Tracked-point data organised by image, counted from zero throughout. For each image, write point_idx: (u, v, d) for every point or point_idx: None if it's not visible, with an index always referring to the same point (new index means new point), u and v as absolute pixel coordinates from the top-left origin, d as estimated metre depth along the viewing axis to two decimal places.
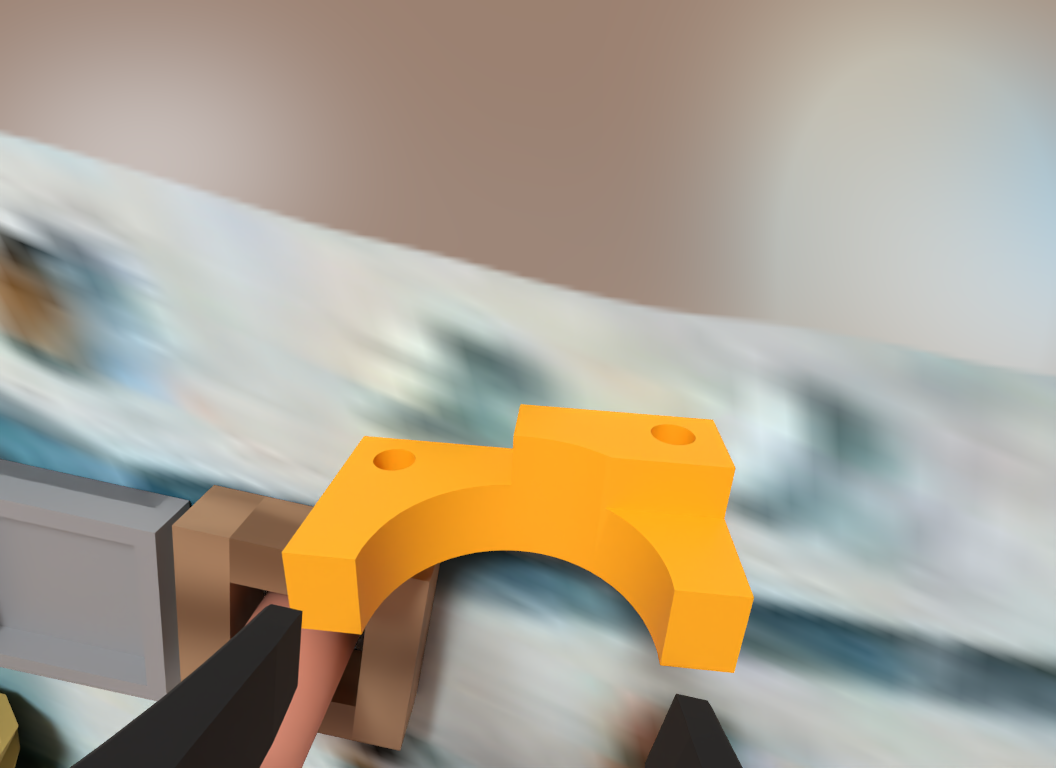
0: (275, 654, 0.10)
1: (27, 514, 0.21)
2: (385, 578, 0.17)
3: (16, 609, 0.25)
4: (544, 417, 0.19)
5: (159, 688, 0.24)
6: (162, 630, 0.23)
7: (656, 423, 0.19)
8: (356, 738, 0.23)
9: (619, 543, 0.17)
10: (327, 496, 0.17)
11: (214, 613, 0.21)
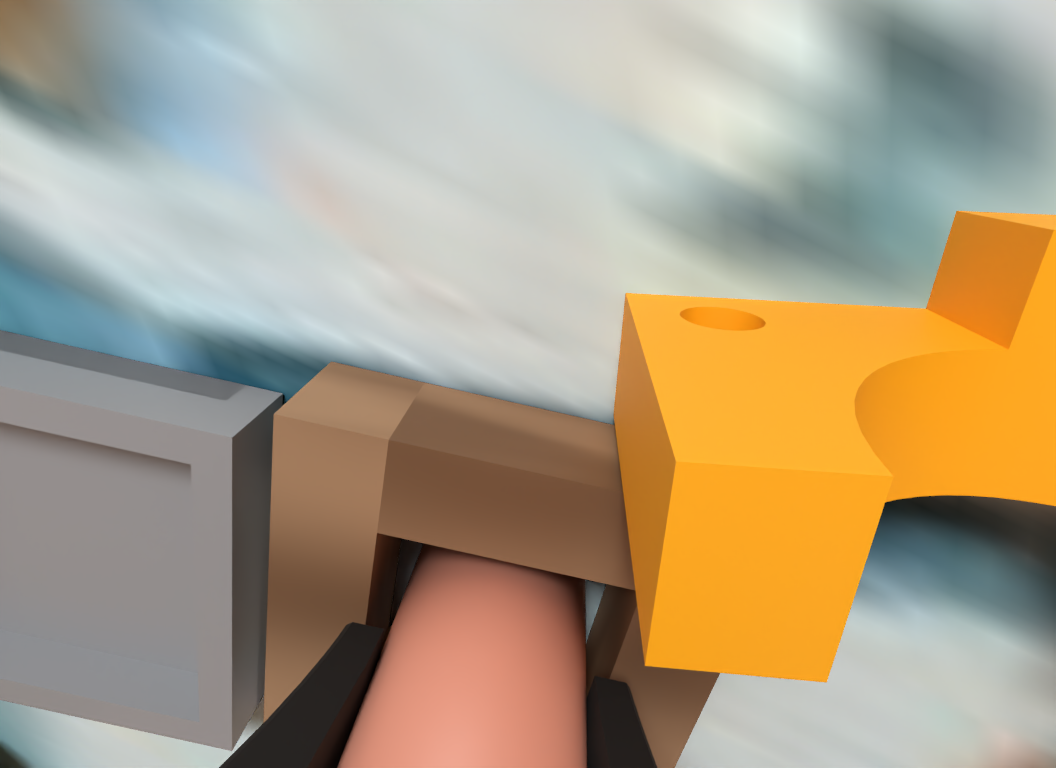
0: (365, 674, 0.10)
1: None
2: None
3: None
4: (1044, 219, 0.09)
5: (220, 726, 0.14)
6: (233, 626, 0.13)
7: None
8: None
9: None
10: (660, 363, 0.08)
11: (340, 594, 0.11)
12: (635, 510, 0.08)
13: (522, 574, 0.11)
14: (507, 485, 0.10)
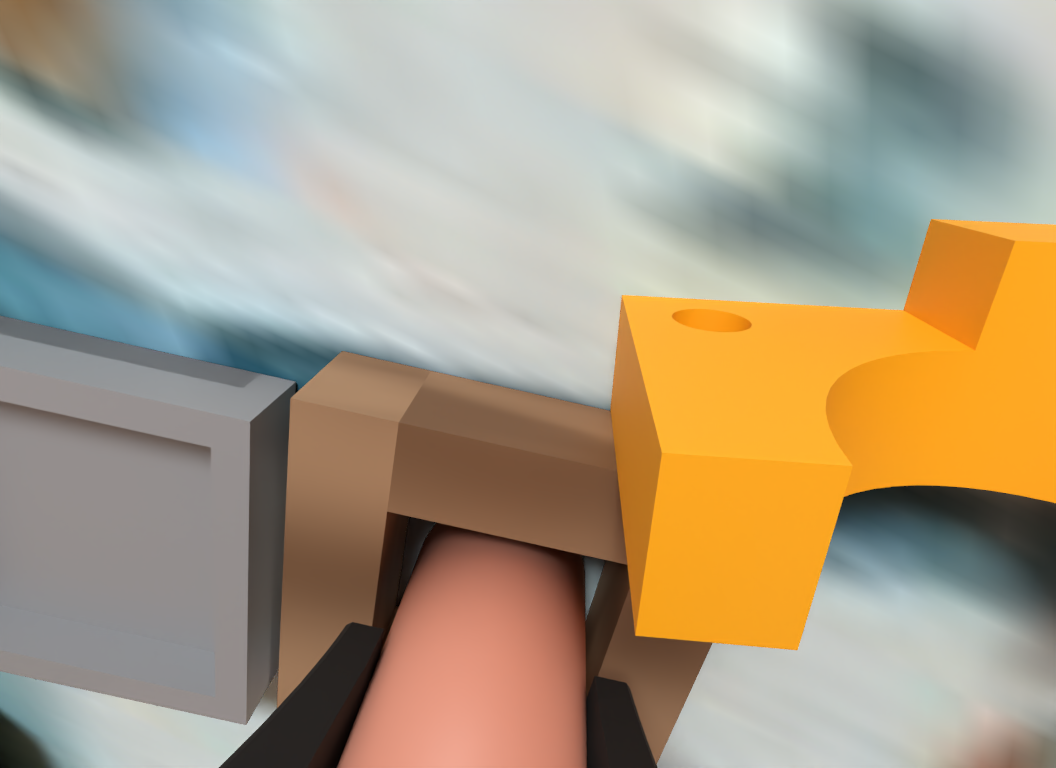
0: (365, 674, 0.10)
1: (18, 388, 0.12)
2: None
3: (2, 573, 0.15)
4: (1011, 228, 0.10)
5: (235, 700, 0.15)
6: (248, 603, 0.13)
7: None
8: None
9: None
10: (652, 363, 0.08)
11: (351, 570, 0.12)
12: (628, 498, 0.09)
13: (522, 574, 0.11)
14: (510, 465, 0.11)
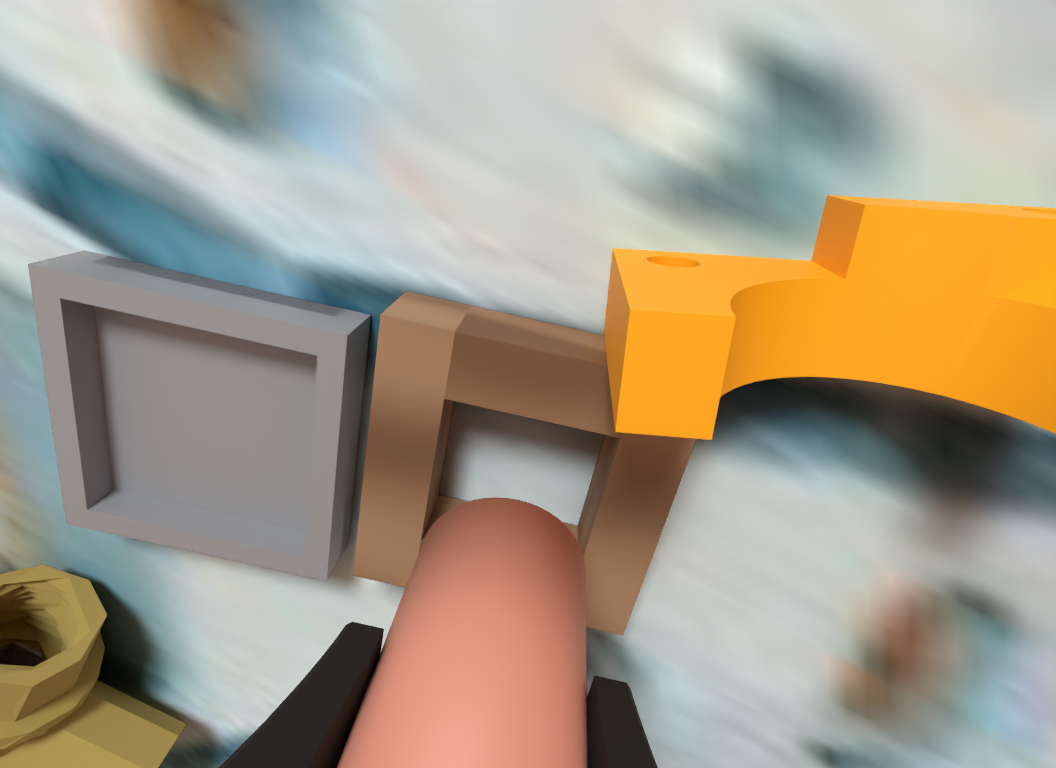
0: (364, 674, 0.10)
1: (182, 313, 0.16)
2: None
3: (139, 467, 0.20)
4: (875, 200, 0.15)
5: (319, 560, 0.19)
6: (335, 478, 0.18)
7: (1019, 207, 0.15)
8: None
9: (1014, 341, 0.13)
10: (629, 278, 0.13)
11: (416, 445, 0.17)
12: (613, 366, 0.13)
13: (523, 568, 0.11)
14: (531, 362, 0.15)
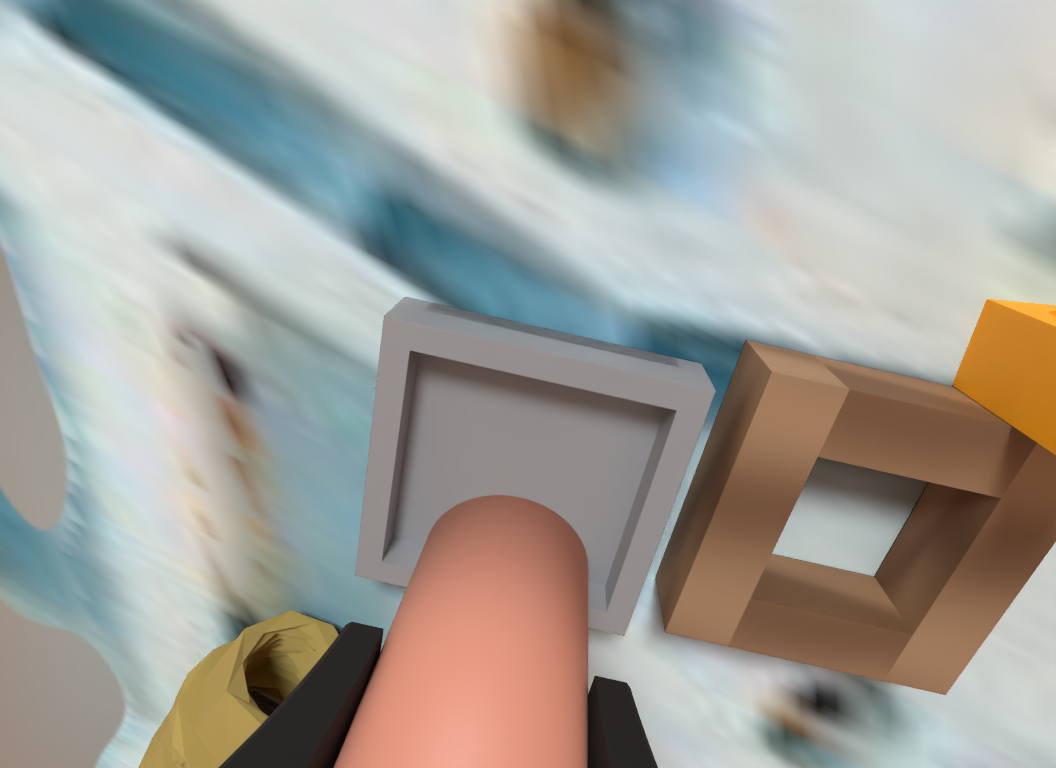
0: (364, 674, 0.10)
1: (540, 366, 0.16)
2: None
3: (426, 516, 0.19)
4: None
5: (622, 615, 0.19)
6: (661, 534, 0.17)
7: None
8: (890, 679, 0.18)
9: None
10: None
11: (773, 503, 0.16)
12: None
13: (526, 566, 0.11)
14: (925, 421, 0.15)
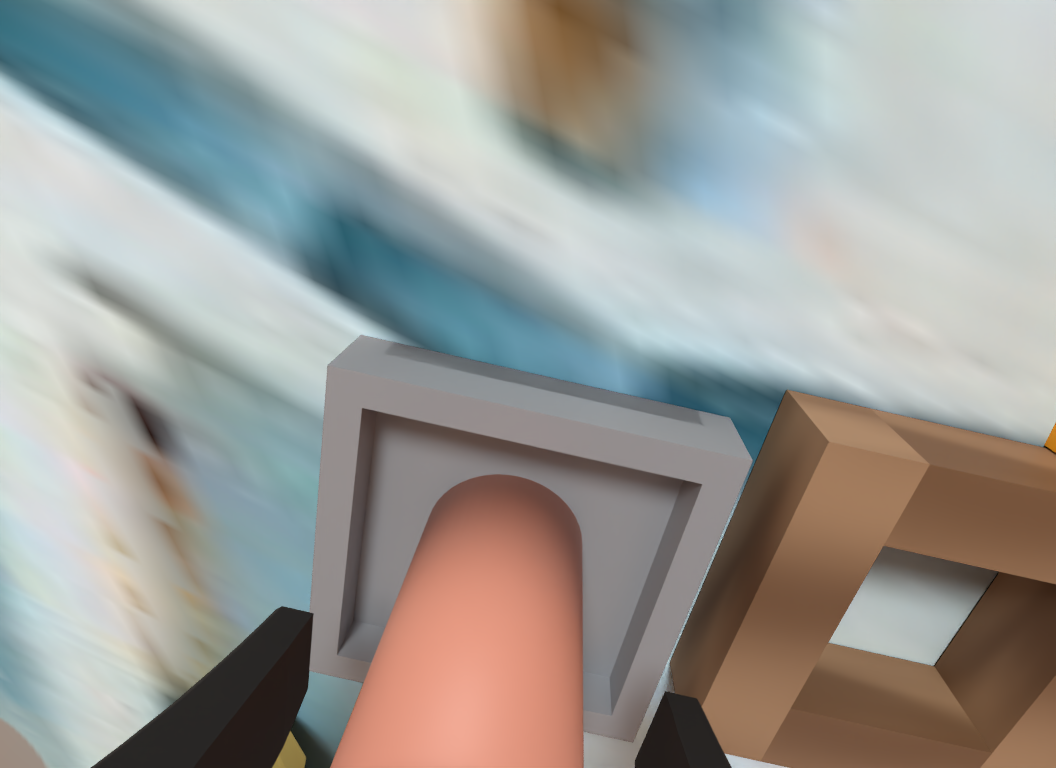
0: (287, 657, 0.10)
1: (528, 428, 0.12)
2: None
3: (393, 596, 0.16)
4: None
5: (631, 719, 0.15)
6: (680, 628, 0.14)
7: None
8: None
9: None
10: None
11: (824, 599, 0.13)
12: None
13: (524, 537, 0.12)
14: (1026, 504, 0.11)
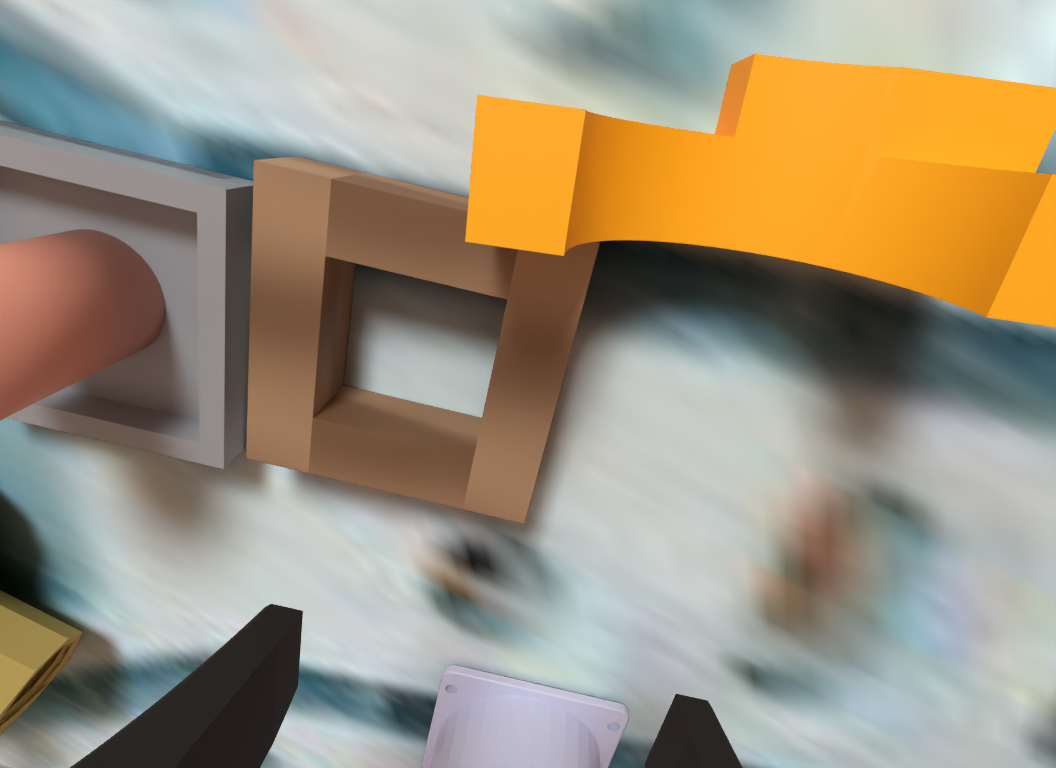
0: (275, 654, 0.10)
1: (55, 164, 0.16)
2: (583, 210, 0.12)
3: None
4: None
5: (215, 445, 0.19)
6: (225, 353, 0.18)
7: None
8: (468, 507, 0.18)
9: (892, 202, 0.13)
10: None
11: (301, 310, 0.16)
12: None
13: (49, 248, 0.16)
14: (411, 213, 0.15)
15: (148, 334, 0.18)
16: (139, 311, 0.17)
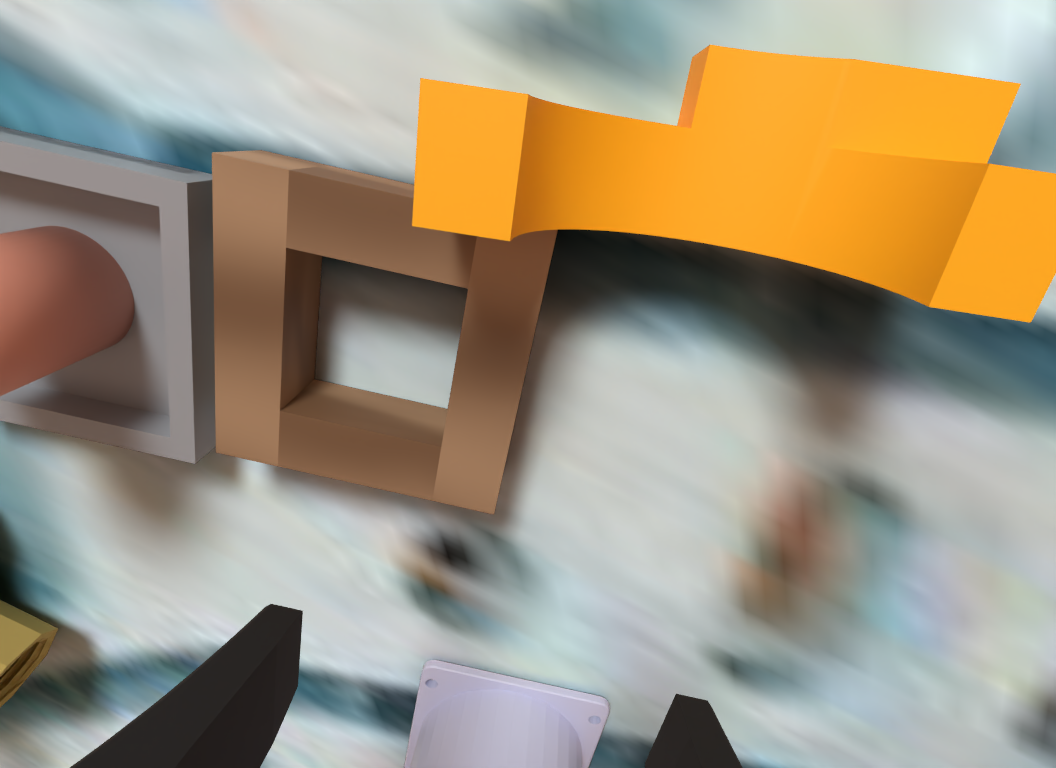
0: (275, 654, 0.10)
1: (18, 160, 0.16)
2: (533, 197, 0.12)
3: None
4: None
5: (186, 440, 0.19)
6: (192, 347, 0.18)
7: None
8: (438, 498, 0.18)
9: (844, 193, 0.13)
10: None
11: (264, 302, 0.16)
12: None
13: (12, 243, 0.16)
14: (369, 203, 0.15)
15: (116, 330, 0.18)
16: (106, 306, 0.17)
